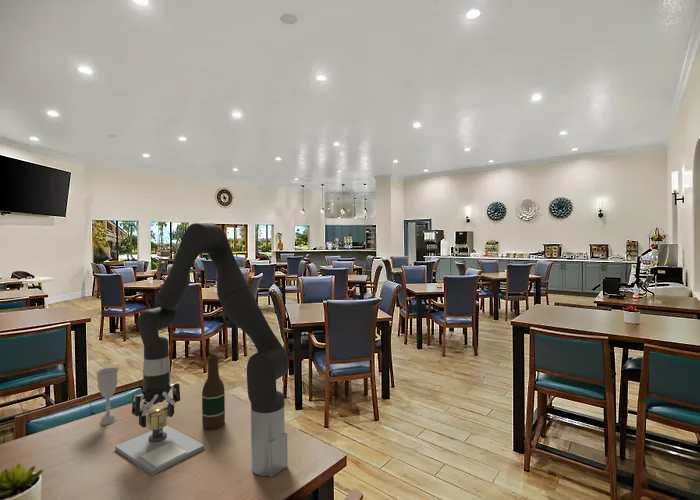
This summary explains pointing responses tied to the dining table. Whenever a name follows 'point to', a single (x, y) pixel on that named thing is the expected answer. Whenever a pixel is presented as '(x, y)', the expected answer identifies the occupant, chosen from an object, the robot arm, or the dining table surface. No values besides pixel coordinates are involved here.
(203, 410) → the beer bottle
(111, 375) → the chalice
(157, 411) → the cap
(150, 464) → the board
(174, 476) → the dining table surface
